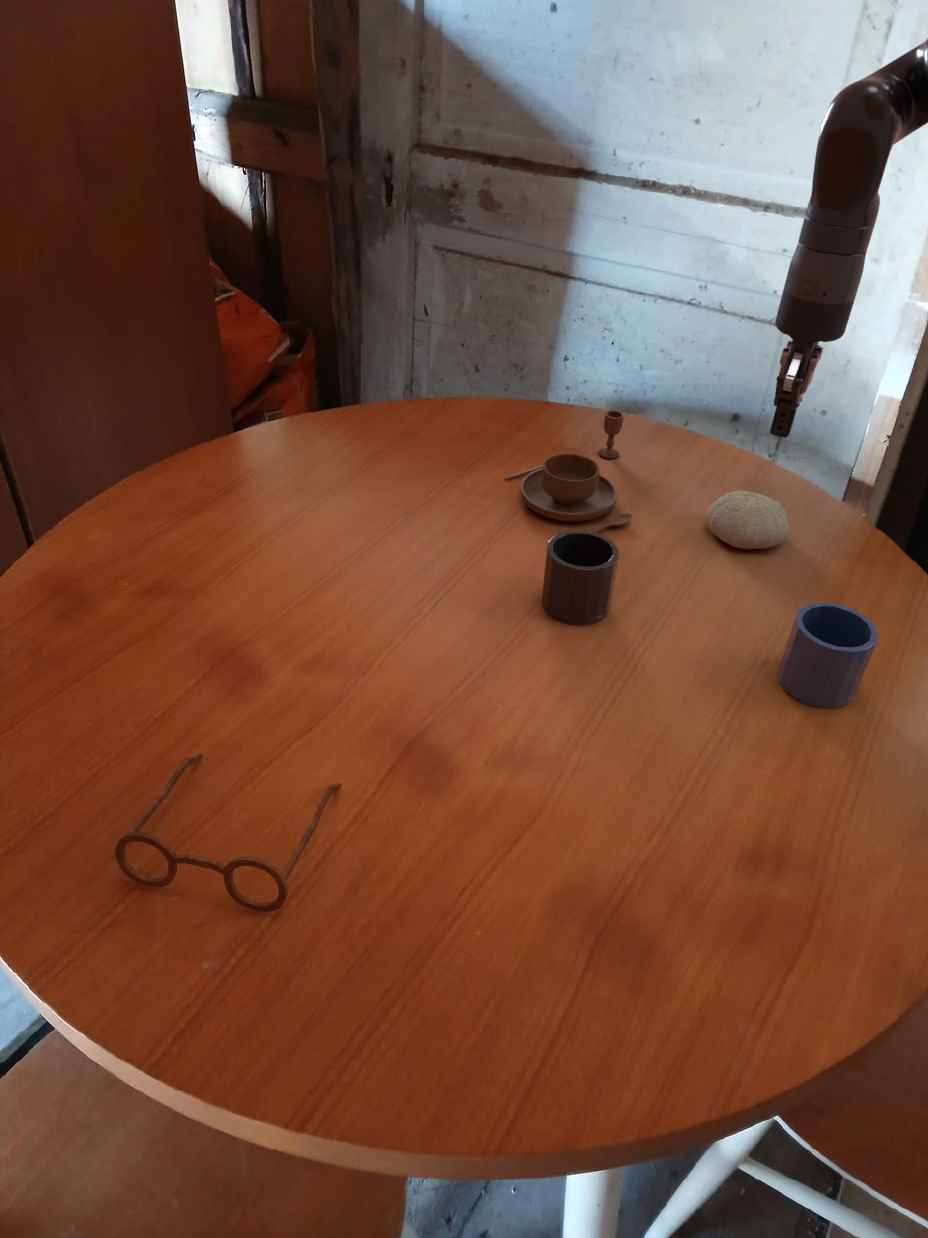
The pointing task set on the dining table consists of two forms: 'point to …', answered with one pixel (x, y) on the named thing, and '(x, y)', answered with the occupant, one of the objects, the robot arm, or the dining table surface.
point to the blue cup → (826, 654)
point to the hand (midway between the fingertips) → (779, 433)
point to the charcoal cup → (579, 577)
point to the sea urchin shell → (748, 520)
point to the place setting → (575, 484)
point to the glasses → (227, 870)
